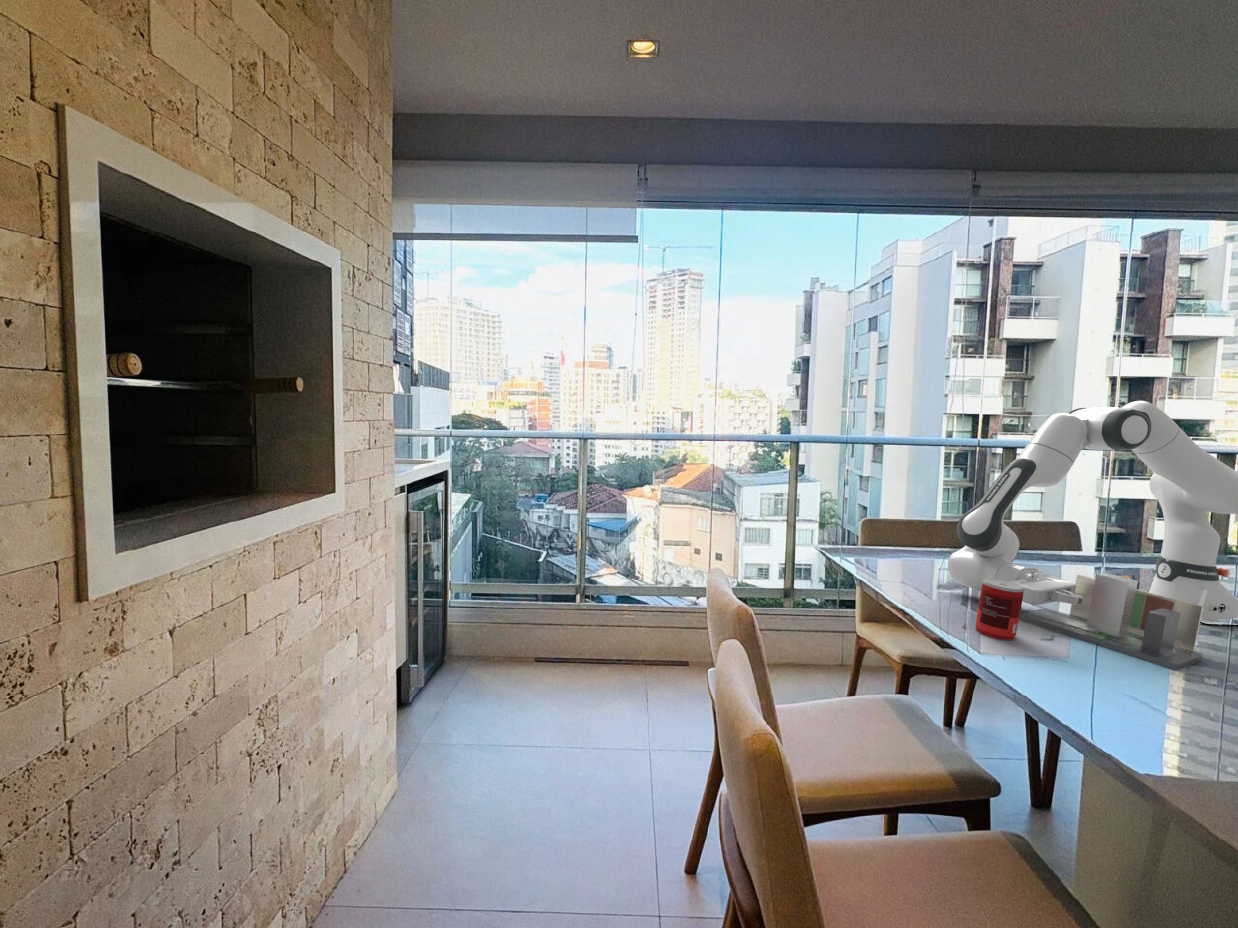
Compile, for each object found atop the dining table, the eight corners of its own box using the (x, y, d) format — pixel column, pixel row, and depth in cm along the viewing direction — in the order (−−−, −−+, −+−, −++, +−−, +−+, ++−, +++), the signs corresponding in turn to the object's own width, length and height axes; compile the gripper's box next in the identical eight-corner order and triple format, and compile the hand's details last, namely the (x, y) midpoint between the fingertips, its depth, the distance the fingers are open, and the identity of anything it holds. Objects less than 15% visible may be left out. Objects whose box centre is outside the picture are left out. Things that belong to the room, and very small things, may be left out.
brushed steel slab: (1086, 627, 146) (1096, 574, 145) (1102, 623, 151) (1112, 571, 150) (1118, 636, 141) (1128, 582, 140) (1134, 632, 146) (1144, 579, 145)
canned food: (1004, 629, 144) (1013, 580, 143) (1023, 642, 137) (1032, 591, 135) (968, 624, 145) (976, 576, 144) (984, 637, 137) (993, 586, 136)
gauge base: (1016, 618, 154) (1023, 576, 153) (1058, 609, 166) (1065, 571, 165) (1176, 670, 129) (1186, 621, 128) (1212, 656, 141) (1221, 610, 140)
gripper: (996, 572, 155) (1061, 591, 143) (1038, 568, 166) (1101, 584, 155) (991, 599, 155) (1056, 619, 144) (1033, 592, 167) (1096, 610, 156)
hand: (1079, 601), depth 150 cm, fingers closed
